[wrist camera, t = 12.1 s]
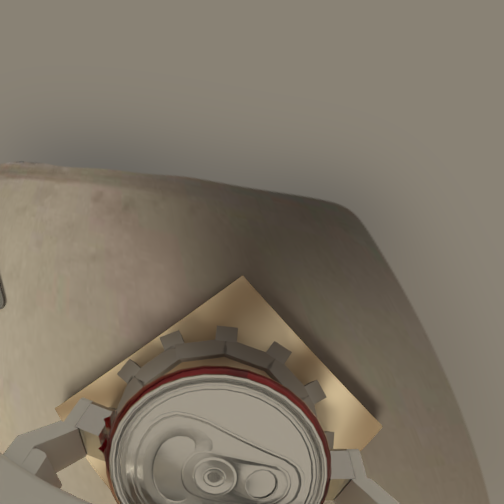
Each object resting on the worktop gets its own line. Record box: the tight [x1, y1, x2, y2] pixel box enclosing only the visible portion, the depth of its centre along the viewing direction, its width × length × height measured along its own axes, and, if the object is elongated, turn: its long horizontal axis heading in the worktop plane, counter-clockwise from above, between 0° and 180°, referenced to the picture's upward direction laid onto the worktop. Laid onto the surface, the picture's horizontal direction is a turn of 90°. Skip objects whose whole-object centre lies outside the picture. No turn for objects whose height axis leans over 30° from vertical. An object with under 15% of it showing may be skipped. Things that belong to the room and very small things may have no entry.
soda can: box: [105, 365, 331, 504], centre depth 12 cm, size 7×7×12 cm
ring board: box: [55, 275, 383, 490], centre depth 17 cm, size 16×18×3 cm
